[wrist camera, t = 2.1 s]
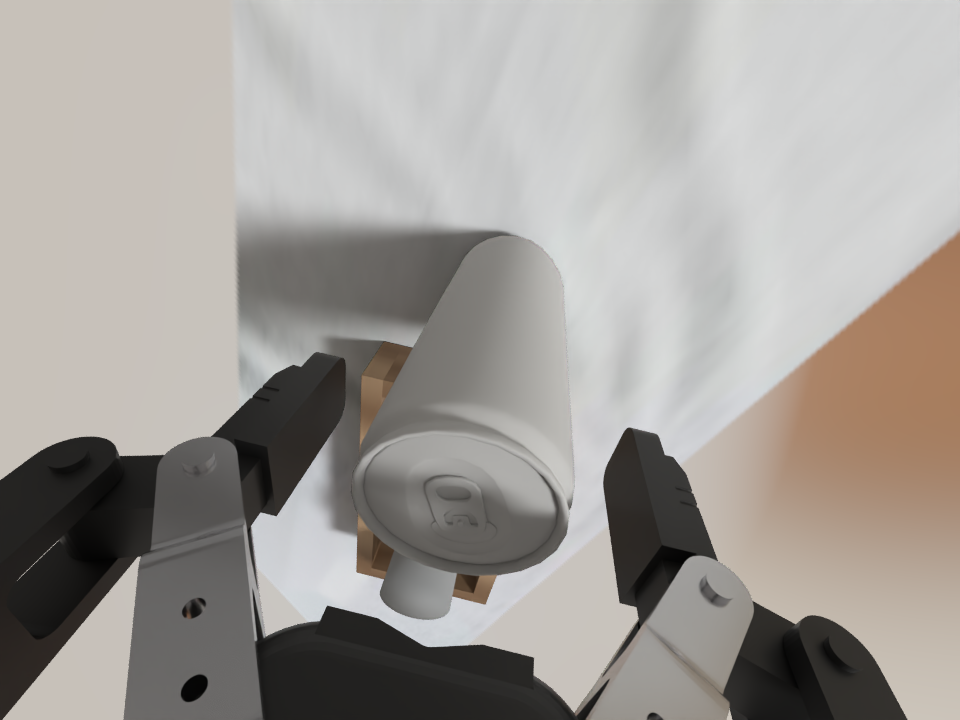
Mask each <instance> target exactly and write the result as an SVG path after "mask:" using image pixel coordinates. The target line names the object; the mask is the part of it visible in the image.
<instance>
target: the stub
mask: <svg viewBox="0 0 960 720" xmlns="http://www.w3.org/2000/svg"><path fill="white" fill-rule="evenodd" d="M456 575H457V573H451V572H446V571H443V570H439V569H436V568H432V567H429V566H425V565H423V564H421V563H418V562H416V561H414V560H412V559H410V558H407V557H405V556H403V555H401V554H400V553H398V552H397V551H395V550H394V552H393V555H392V558H391V561H390V564H389V567H388V570H387V573H386V576H385V579H384V581H383V584H382V587H381V590H380V596H381V599H382V600H383V602H384V603H385V604H386V605H387V606H388V607H390V608H391V609H392V610H394V611H396V612H398V613H400V614H402V615H405V616H408V617H411V618H416V619H423V620H432V619H438V618H441V617H443V616H445V615H446V614H447V613H448V612H449V610H450V605H451V600H452V595H453V590H454V585H455V580H456Z"/></svg>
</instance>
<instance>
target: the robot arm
mask: <svg viewBox="0 0 960 720" xmlns="http://www.w3.org/2000/svg"><path fill="white" fill-rule="evenodd" d="M345 375H346V364H345V360H344V359H343V358H340V357H336V356H332V355H327V354H323V353H319V352H316V353H314V354H313V355H312V356H311V357H310V358H309V359H308V360H307V361H306V362H305V363H304V365H303V366H302V367H299V366H295V365H292V366H290V367H288V368H286V369H284V370H282V371H280V372H278V373H276V374H274V375H273V376H272V377H271V378H270V379H269V380H268V381H267V382H266V383H265V384H264V385H263V388H260V389H259V390H258V391H257V392H256V393H255V394H254V395H253V398H250V399H249V400H248V401H247V402H246V403H245V404H244V405H243V406H242V407H241V408H240V409H239V410H238V411H237V412H236V413H235V414H234V415H233V416H232V417H231V418H230V419H229V420H228V421H227V422H226V423H225V424H224V425H223V426H222V427H221V428H220V429H219V430H218V431H217V432H216V433H215V434H214V435H212V436H211V437H201V438H196V439H192V440H189V441H186V442H183V443H181V444H179V445H177V446H176V447H174V448H172V449H171V450H170V451H168V452H167V453H166V454H165V455H152V456H119V454H118V451H117V449H116V447H115V445H114V444H113V443H112V442H111V441H109V440H107V439H104V438H100V437H79V438H74V439H69V440H66V441H62V442H59V443H56V444H54V445H52V446H50V447H47V448H45V449H43V450H42V451H40V452H38V453H37V454H36V455H34V456H33V457H31V458H30V459H28V460H27V461H26V462H24V463H23V464H22V465H20V466H19V467H18V468H16V469H15V470H14V471H12V472H11V473H9V474H8V475H7V476H5V477H4V478H3V479H1V480H0V720H2V719H3V718H4V717H5V716H6V714H7V713H8V712H9V711H10V710H11V709H12V707H13V706H14V705H15V704H16V703H17V701H18V700H19V699H20V698H21V696H22V695H23V694H24V693H25V692H26V690H27V689H28V688H29V687H30V686H31V684H32V683H33V682H34V681H35V680H36V678H37V677H38V676H39V675H40V673H41V672H42V671H43V670H44V669H45V668H46V666H47V665H48V664H49V663H50V662H51V660H52V659H53V658H54V657H55V656H56V654H57V653H58V652H59V651H60V649H61V648H62V647H63V646H64V645H65V644H66V642H67V641H68V640H69V639H70V638H71V636H72V635H73V634H74V633H75V632H76V630H77V629H78V628H79V627H80V626H81V624H82V623H83V622H84V621H85V620H86V618H87V617H88V616H89V614H91V612H92V611H93V610H94V609H95V607H96V606H97V605H98V604H99V603H100V601H101V600H102V599H103V598H104V597H105V595H106V594H107V593H108V592H109V591H110V589H111V588H112V587H113V586H114V585H115V583H116V582H117V581H118V580H119V579H120V577H121V576H122V575H123V574H124V573H125V571H126V570H127V569H128V568H129V567H130V565H131V564H132V563H133V562H134V560H135V559H136V558H137V557H140V556H141V559H140V562H139V568H138V577H137V587H136V597H135V608H134V618H133V628H132V639H131V650H130V660H129V670H128V680H127V690H126V700H125V710H124V720H726V719H727V716H728V712H729V708H730V712H731V715H732V719H733V720H907V718H906V716H905V714H904V712H903V711H902V709H901V707H900V705H899V703H898V701H897V699H896V698H895V696H894V694H893V692H892V690H891V688H890V686H889V685H888V683H887V681H886V679H885V677H884V675H883V673H882V672H881V670H880V668H879V666H878V664H877V663H876V661H875V659H874V658H873V657H872V655H871V654H870V653H869V651H868V650H867V649H866V648H865V647H864V646H863V644H861V642H859V641H858V639H856V638H855V637H854V636H853V635H852V634H851V633H849V632H848V631H847V630H846V629H844V628H843V627H841V626H840V625H838V624H837V623H835V622H833V621H831V620H829V619H826V618H824V617H820V616H813V615H812V616H807V617H805V618H803V619H802V620H801V621H799V622H798V623H797V624H794V623H792V622H790V621H788V620H787V619H785V618H783V617H781V616H779V615H777V614H775V613H773V612H771V611H770V610H768V609H766V608H764V607H762V606H760V605H759V604H757V603H755V602H753V601H752V598H751V596H750V594H749V592H748V590H747V588H746V587H745V585H744V584H743V582H742V581H741V580H740V579H739V578H738V576H736V574H735V573H734V572H732V571H731V570H730V569H729V568H727V567H726V566H725V565H723V564H722V563H720V562H718V560H717V558H716V554H715V552H714V549H713V546H712V544H711V541H710V538H709V535H708V533H707V530H706V527H705V525H704V522H703V519H702V516H701V514H700V511H699V509H698V508H697V503H696V500H695V497H694V494H692V493H691V492H692V489H691V486H690V484H689V481H688V478H687V475H686V473H685V472H684V471H683V469H682V468H681V467H680V466H679V464H678V463H677V462H676V460H675V459H674V458H673V457H670V456H666V455H665V454H664V451H663V448H662V445H661V442H660V439H659V437H658V435H657V434H654V433H650V432H646V431H642V430H638V429H633V428H627V429H626V430H625V431H624V433H623V435H622V437H621V439H620V441H619V443H618V445H617V447H616V449H615V451H614V453H613V454H612V456H611V458H610V460H609V462H608V464H607V467H606V470H605V474H604V481H603V487H604V494H605V502H606V509H607V516H608V523H609V530H610V536H611V545H612V552H613V559H614V566H615V573H616V580H617V587H618V595H619V601H620V603H622V604H626V605H630V606H634V607H637V611H638V617H639V619H638V620H637V622H636V623H635V624H634V625H633V627H632V629H631V630H630V632H629V633H628V635H627V636H626V638H625V639H624V641H623V642H622V644H621V645H620V647H619V649H618V650H617V651H616V653H615V655H614V656H613V658H612V659H611V661H610V662H609V664H608V665H607V667H606V668H605V670H604V671H603V673H602V674H601V676H600V678H599V679H598V681H597V682H596V684H595V685H594V686H593V688H592V689H591V691H590V692H589V693H588V695H587V696H586V697H585V699H584V700H583V701H582V703H581V704H580V706H579V707H578V708H577V710H576V711H575V713H574V712H573V711H572V710H571V709H570V707H569V706H568V705H567V704H566V703H565V701H564V700H563V699H562V698H561V697H560V696H559V695H558V694H557V693H556V692H555V691H554V690H553V689H552V688H550V687H549V686H548V685H547V684H545V683H544V682H542V681H541V680H540V679H538V678H537V677H535V676H533V668H534V658H533V657H529V656H525V655H521V654H517V653H513V652H509V651H505V650H501V649H497V648H493V647H489V646H486V645H468V646H448V647H426V646H423V645H421V644H419V643H418V642H416V641H415V640H413V639H411V638H410V637H408V636H406V635H405V634H403V633H401V632H400V631H398V630H396V629H395V628H393V627H391V626H390V625H388V624H386V623H385V622H383V621H381V620H380V619H378V618H374V617H370V616H366V615H363V614H359V613H355V612H351V611H347V610H343V609H339V608H335V607H331V606H327V607H326V609H325V611H324V614H323V616H322V618H321V620H320V621H318V622H308V623H303V624H297V625H294V626H291V627H288V628H284V629H282V630H280V631H277V632H275V633H273V634H270V635H268V636H267V637H266V634H265V627H264V621H263V614H262V608H261V601H260V593H259V585H258V576H257V568H256V559H255V551H254V543H253V534H252V527H251V525H252V524H253V522H254V521H255V519H256V518H257V517H258V515H259V514H260V512H262V513H266V514H270V515H274V516H277V515H278V513H279V512H280V510H281V509H282V507H283V506H284V504H285V503H286V501H287V500H288V498H289V497H290V495H291V494H292V492H293V490H294V489H295V487H296V486H297V484H298V483H299V481H300V480H301V478H302V477H303V475H304V474H305V472H306V471H307V469H308V468H309V466H310V465H311V463H312V462H313V460H314V459H315V457H316V456H317V454H318V453H319V451H320V450H321V448H322V447H323V445H324V444H325V442H326V441H327V439H328V438H329V436H330V435H331V433H332V432H333V430H334V428H335V427H336V425H337V424H338V422H339V421H340V419H341V416H342V414H343V410H344V406H345ZM58 540H59V541H58ZM57 541H58V542H57ZM56 542H57V543H56ZM55 543H56V544H55ZM54 544H55V545H54ZM53 545H54V546H53ZM52 546H53V547H52ZM50 547H52V548H51V549H50ZM49 549H50V550H49ZM47 550H49V551H48V552H47V553H46V554H45V555H43V554H44V553H45V552H46V551H47ZM42 555H43V557H42V558H40V557H41V556H42ZM39 558H40V559H39ZM38 559H39V560H38ZM37 560H38V561H37ZM36 561H37V562H36ZM35 562H36V563H35ZM34 563H35V564H34ZM33 564H34V565H33ZM32 565H33V566H32ZM31 566H32V567H31ZM30 567H31V568H30ZM29 568H30V569H29ZM28 569H29V570H28ZM26 570H28V571H27V572H26ZM25 572H26V573H25ZM24 573H25V574H24ZM22 574H24V575H23V576H22V577H21V575H22ZM20 577H21V578H20ZM19 578H20V579H19ZM18 579H19V580H18ZM17 580H18V581H17Z"/></svg>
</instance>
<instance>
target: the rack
mask: <svg viewBox="0 0 960 720" xmlns="http://www.w3.org/2000/svg"><path fill="white" fill-rule="evenodd" d="M412 349H413V348H410V347H405V346H401V345H397V344H393V343H389V342H383V344H382V345H381V347H380V348H379V350H378V351H377V353H376V354H375V356H374V357H373V359H372V360H371V362H370V363H369V365H368V366H367V368H366V369H365V371H364V372H363V374H362V376H361V415H360V445H361V443H362V441H363V439H364V437H365V435H366V433H367V431H368V430H369V428H370V426H371V424H372V422H373V420H374V419H375V417H376V415H377V413H378V411H379V409H380V408H381V406H382V404H383V402H384V400H385V398H386V397H387V395H388V393H389V391H390V389H391V387H392V386H393V384H394V382H395V380H396V378H397V376H398V375H399V373H400V371H401V369H402V367H403V365H404V363H405V362H406V360H407V358H408V356H409V354H410V352H411V351H412ZM359 455H360V454H359ZM393 552H394V549H392V548H391V547H389V546H388V545H386V544H384V543H383V542H382V541H381V540H380V539H379V538H378V537H377V536H376V535H375V534H374V533H373V532H372V531H370V530H369V529H368V528H367V526H366V525H365V523H364V522H363V520H362V519H361V517H360V516H359V514H358V533H357V573H361V574H365V575H369V576H373V577H377V578H381V579H385V576H386V573H387V570H388V567H389V564H390V561H391V558H392V555H393ZM496 576H497V575H485V576H472V575H465V574H458V573H457V575H456V580H455V585H454V590H453V595H452V596H453V597H457V598H461V599H465V600H469V601H473V602H477V603H481V604H486V602H487V599H488V597H489V594H490V591H491V589H492V586H493V584H494V581H495V579H496Z"/></svg>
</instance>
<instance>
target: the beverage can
mask: <svg viewBox="0 0 960 720" xmlns="http://www.w3.org/2000/svg"><path fill="white" fill-rule="evenodd" d="M574 487H575V475H574V457H573V439H572V422H571V405H570V389H569V372H568V356H567V338H566V320H565V301H564V286H563V282H562V278H561V275H560V272H559V270H558V268H557V267H556V265H555V263H554V261H553V260H552V259H551V257H550V256H549V255H548V254H547V253H546V252H545V251H544V249H543V248H541V247H540V246H538V245H537V244H535V243H534V242H532V241H531V240H528V239H524V238H521V237H518V236H498V237H494V238H490V239H486V240H485V241H483V242H481V243H479V244H478V245H476V246H474V247H473V248H472V249H471V251H470V252H469V253H468V254H467V255H466V256H465V257H464V259H463V261H462V262H461V264H460V266H459V268H458V269H457V271H456V273H455V275H454V276H453V278H452V280H451V282H450V283H449V285H448V287H447V288H446V290H445V292H444V294H443V295H442V297H441V299H440V301H439V302H438V304H437V306H436V308H435V309H434V311H433V313H432V315H431V316H430V318H429V320H428V322H427V324H426V325H425V327H424V329H423V331H422V333H421V334H420V336H419V338H418V340H417V342H416V343H415V345H414V347H413V349H412V351H411V352H410V354H409V356H408V358H407V360H406V362H405V363H404V365H403V367H402V369H401V371H400V373H399V375H398V376H397V378H396V380H395V382H394V384H393V386H392V387H391V389H390V391H389V393H388V395H387V397H386V398H385V400H384V402H383V404H382V406H381V408H380V409H379V411H378V413H377V415H376V417H375V419H374V420H373V422H372V424H371V426H370V428H369V430H368V431H367V433H366V435H365V437H364V439H363V441H362V443H361V445H360V455H359V462H358V464H357V466H356V468H355V469H354V471H353V476H352V486H351V494H352V498H353V501H354V505H355V508H356V511H357V512H358V514H359V516H360V517H361V519H362V520H363V522H364V523H365V525H366V526H367V528H368V529H369V530H370V531H372V532H373V533H374V534H375V535H376V536H377V537H378V538H379V539H380V540H381V541H382V542H383V543H384V544H386V545H388V546H389V547H391V548H392V549H394V550H395V551H397V552H398V553H400V554H401V555H403V556H405V557H407V558H410V559H412V560H414V561H416V562H418V563H421V564H423V565H425V566H429V567H432V568H436V569H439V570H443V571H446V572H451V573H458V574H465V575H472V576H485V575H502V574H508V573H513V572H518V571H522V570H524V569H527V568H529V567H532V566H534V565H536V564H539V563H541V562H542V561H543V560H545V559H546V558H547V557H549V556H550V555H551V554H553V553H554V552H555V551H556V550H557V549H558V547H559V545H560V544H561V542H562V541H563V539H564V537H565V536H566V534H567V528H568V522H569V515H570V512H569V510H570V508H571V505H572V499H573V493H574Z"/></svg>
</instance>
